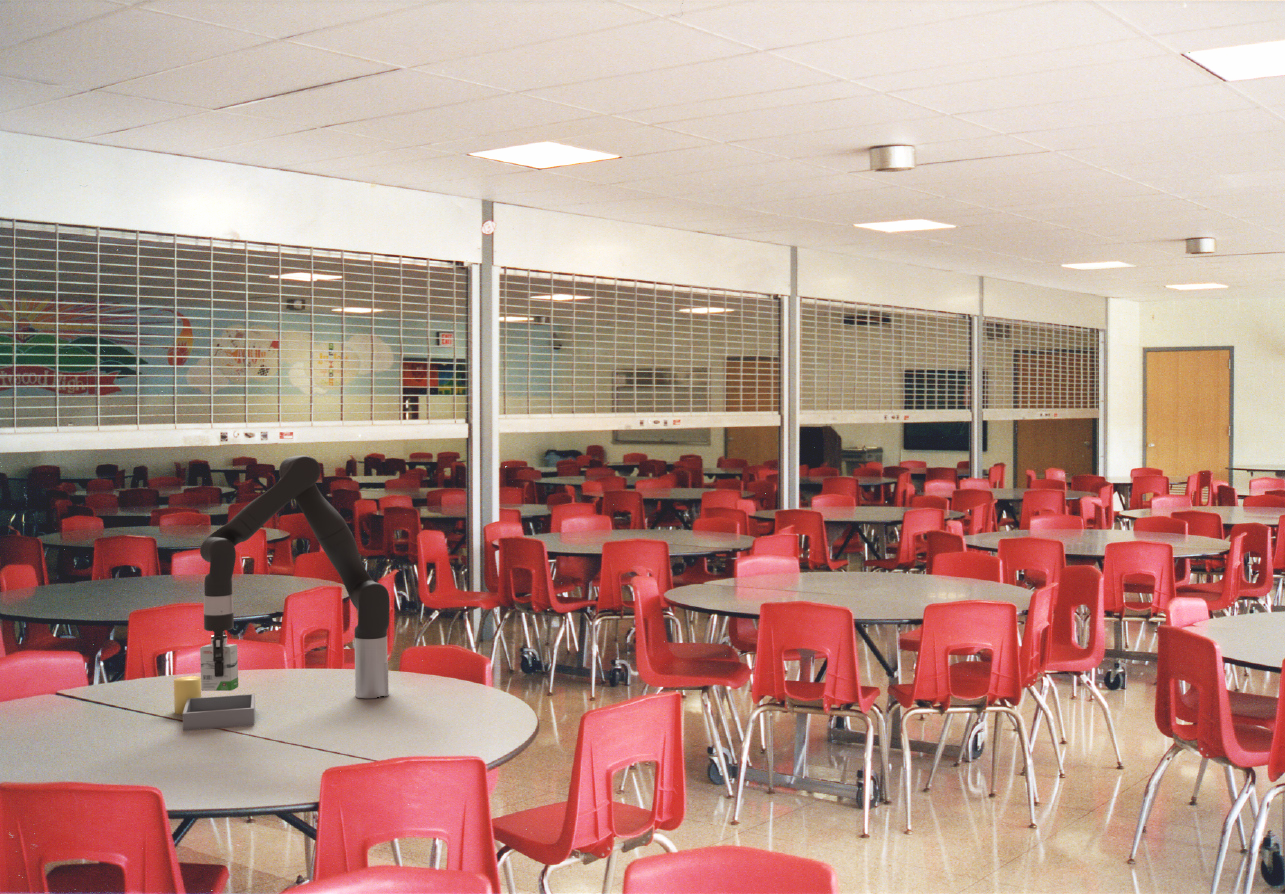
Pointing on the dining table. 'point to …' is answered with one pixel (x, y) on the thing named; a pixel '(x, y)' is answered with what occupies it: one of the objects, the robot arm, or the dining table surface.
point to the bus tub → (219, 712)
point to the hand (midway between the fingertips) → (219, 673)
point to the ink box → (229, 669)
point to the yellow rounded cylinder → (185, 691)
